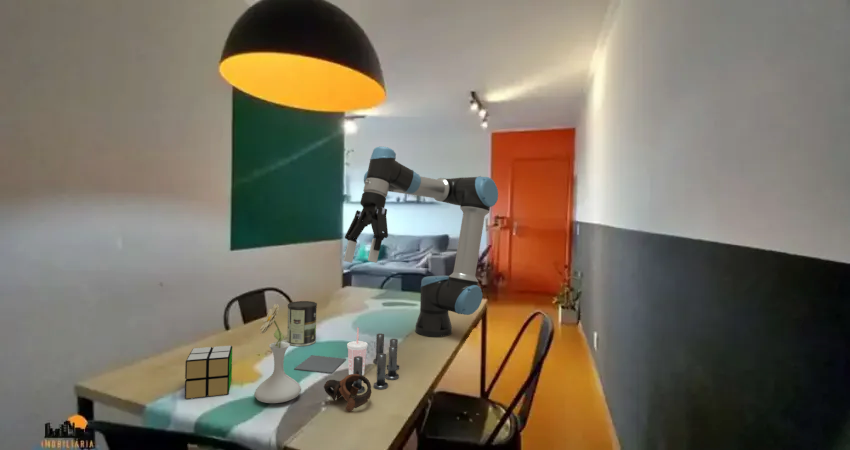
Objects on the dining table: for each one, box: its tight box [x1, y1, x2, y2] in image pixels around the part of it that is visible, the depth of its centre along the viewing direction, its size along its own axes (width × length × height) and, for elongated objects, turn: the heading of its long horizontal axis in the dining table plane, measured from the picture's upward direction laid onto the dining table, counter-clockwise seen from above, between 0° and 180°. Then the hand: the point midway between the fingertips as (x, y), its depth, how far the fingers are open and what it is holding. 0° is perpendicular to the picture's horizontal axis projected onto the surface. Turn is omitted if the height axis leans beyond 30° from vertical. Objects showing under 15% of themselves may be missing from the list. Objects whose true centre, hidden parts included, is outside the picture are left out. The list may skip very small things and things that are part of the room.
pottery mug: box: [323, 374, 372, 412], centre depth 105 cm, size 12×10×8 cm
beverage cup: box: [346, 326, 368, 376], centre depth 124 cm, size 6×6×14 cm
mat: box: [294, 354, 347, 375], centre depth 131 cm, size 12×12×1 cm
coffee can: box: [286, 300, 318, 347], centre depth 152 cm, size 10×10×14 cm
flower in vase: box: [253, 303, 302, 404], centre depth 106 cm, size 13×11×25 cm
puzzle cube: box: [184, 345, 233, 400], centre depth 110 cm, size 10×10×10 cm
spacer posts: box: [352, 333, 400, 395], centre depth 123 cm, size 26×11×9 cm, turn 170°
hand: (359, 261), depth 124 cm, fingers open, 13 cm apart
